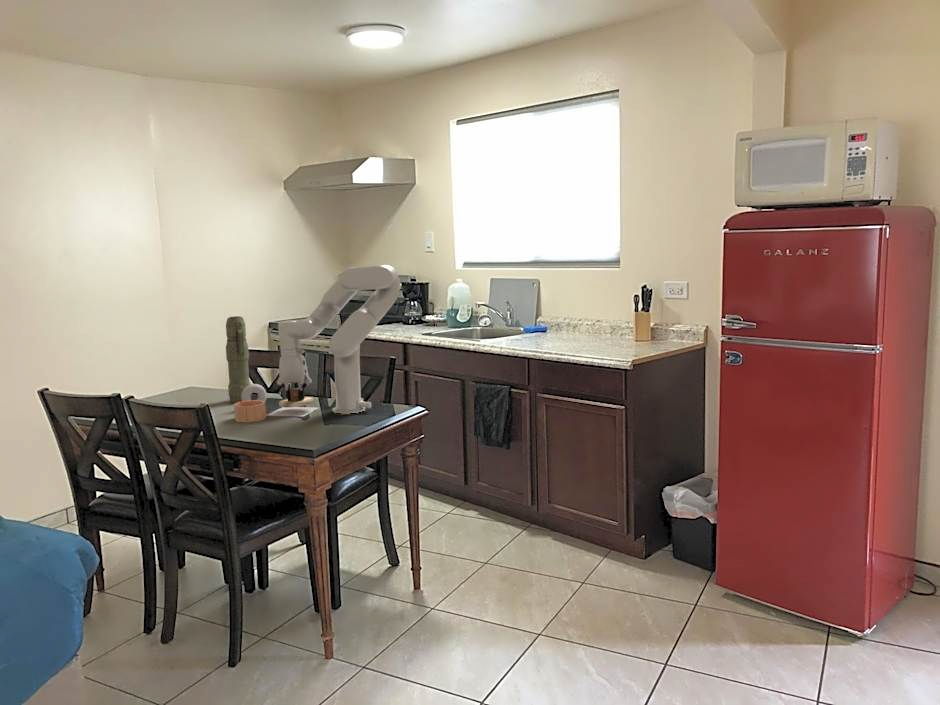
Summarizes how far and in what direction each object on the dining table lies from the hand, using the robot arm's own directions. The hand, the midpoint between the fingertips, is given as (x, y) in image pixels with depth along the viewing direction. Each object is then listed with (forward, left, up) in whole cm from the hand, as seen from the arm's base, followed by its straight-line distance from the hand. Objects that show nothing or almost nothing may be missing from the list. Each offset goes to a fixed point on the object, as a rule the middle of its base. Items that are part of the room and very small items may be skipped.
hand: (296, 399), depth 283 cm
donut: (+19, -4, -5) cm, 20 cm away
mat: (+1, 0, -5) cm, 5 cm away
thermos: (+32, -17, -5) cm, 37 cm away
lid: (0, 0, -1) cm, 1 cm away
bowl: (+12, +13, -5) cm, 19 cm away
